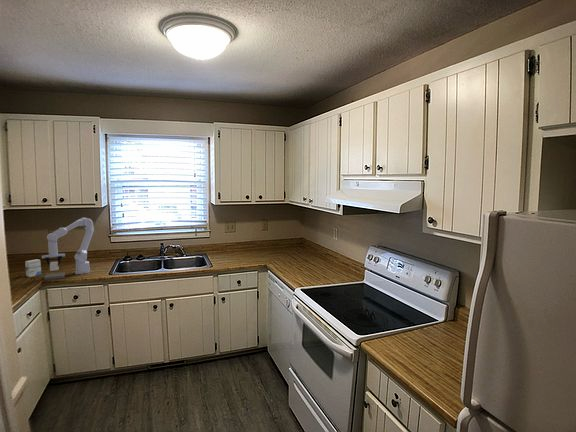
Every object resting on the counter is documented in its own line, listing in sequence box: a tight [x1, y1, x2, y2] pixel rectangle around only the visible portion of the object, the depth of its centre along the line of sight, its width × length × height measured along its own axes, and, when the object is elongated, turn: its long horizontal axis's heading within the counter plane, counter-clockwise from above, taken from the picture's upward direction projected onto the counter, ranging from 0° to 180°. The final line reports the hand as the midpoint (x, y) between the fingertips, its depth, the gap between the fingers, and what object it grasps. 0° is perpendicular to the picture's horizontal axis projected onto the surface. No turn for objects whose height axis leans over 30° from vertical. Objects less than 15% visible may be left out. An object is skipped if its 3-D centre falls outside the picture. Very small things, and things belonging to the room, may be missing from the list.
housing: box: [49, 260, 60, 272], centre depth 259 cm, size 7×5×5 cm
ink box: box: [24, 259, 42, 278], centre depth 264 cm, size 8×5×12 cm, turn 152°
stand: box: [43, 272, 66, 281], centre depth 260 cm, size 12×10×2 cm
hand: (54, 266), depth 259 cm, fingers closed on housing, 5 cm apart
